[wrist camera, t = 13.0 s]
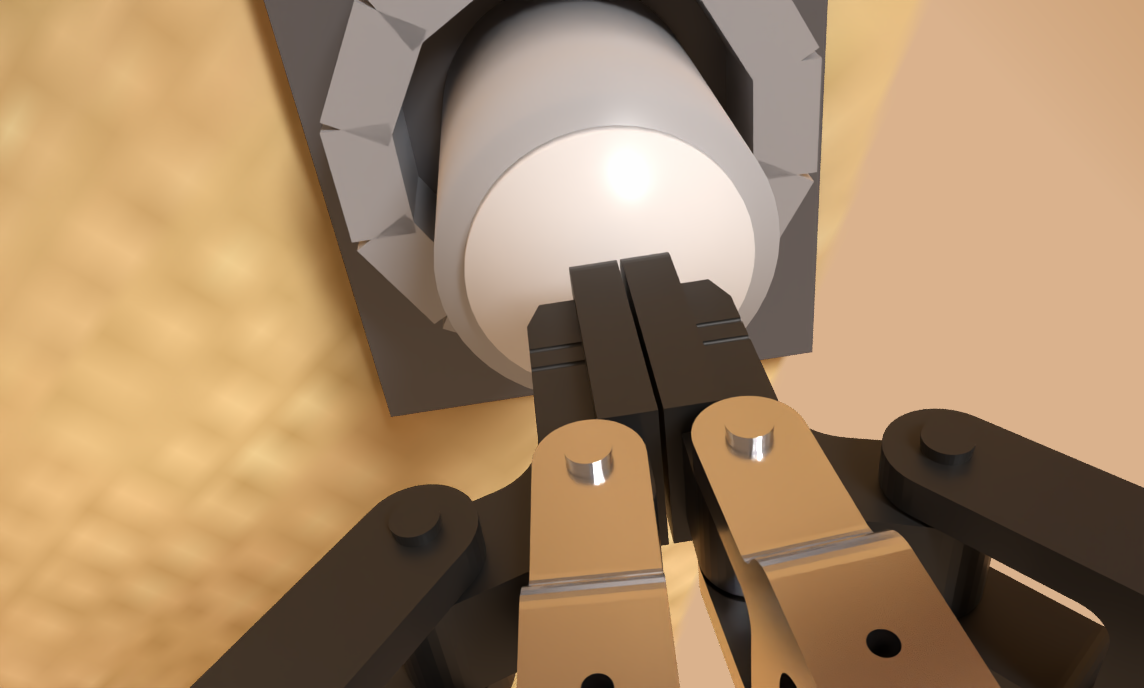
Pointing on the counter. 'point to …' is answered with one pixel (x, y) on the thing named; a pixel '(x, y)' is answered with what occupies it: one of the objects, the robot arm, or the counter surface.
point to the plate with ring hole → (412, 148)
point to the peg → (585, 169)
